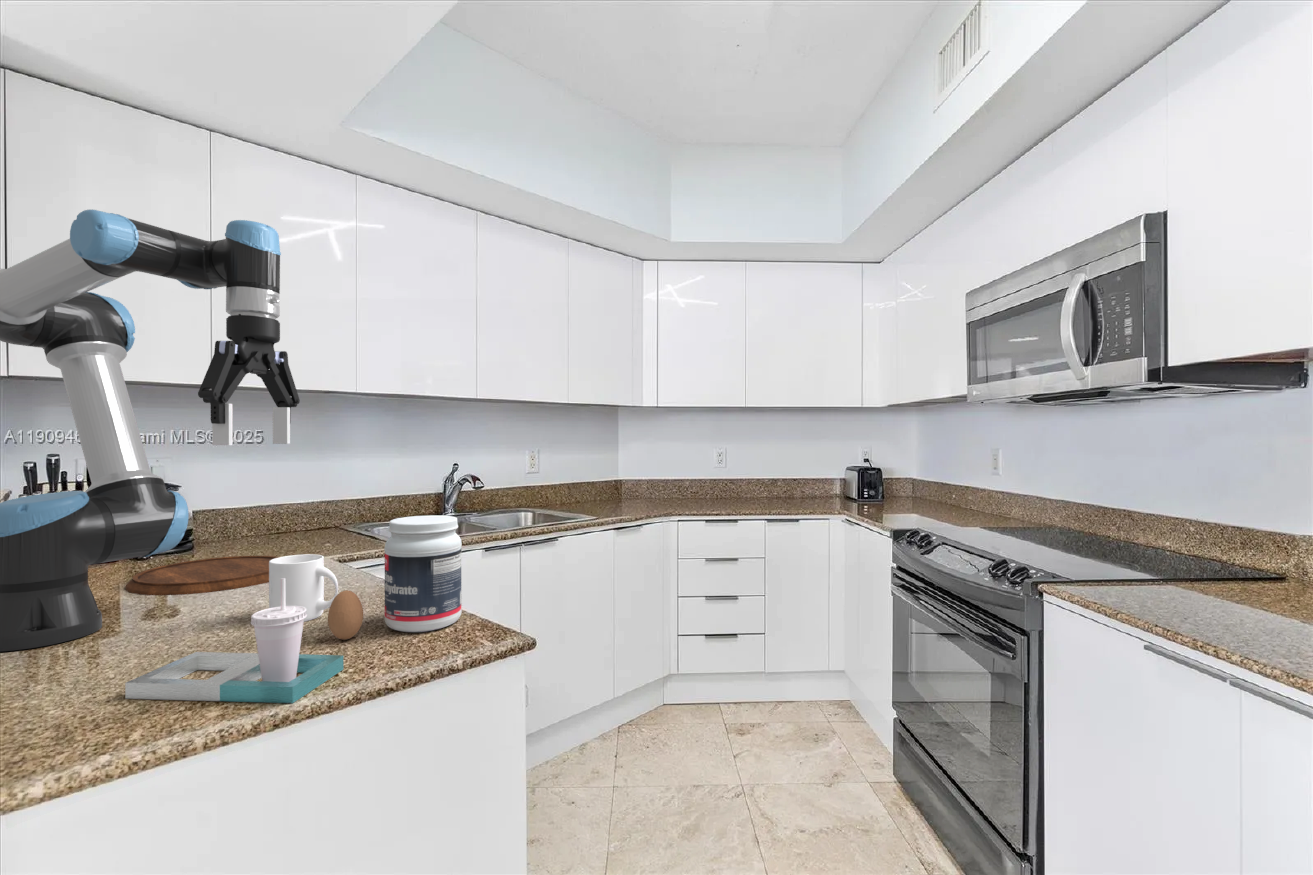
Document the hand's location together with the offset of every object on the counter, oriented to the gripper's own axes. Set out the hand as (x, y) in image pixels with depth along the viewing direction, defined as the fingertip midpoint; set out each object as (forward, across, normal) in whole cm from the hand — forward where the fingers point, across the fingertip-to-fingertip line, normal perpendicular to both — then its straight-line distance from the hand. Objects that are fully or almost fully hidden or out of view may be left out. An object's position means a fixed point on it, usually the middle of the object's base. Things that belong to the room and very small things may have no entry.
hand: (253, 444), depth 103 cm
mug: (+32, +9, -3) cm, 33 cm away
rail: (+32, -20, -13) cm, 40 cm away
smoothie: (+32, -20, -19) cm, 42 cm away
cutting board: (+32, +38, +38) cm, 63 cm away
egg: (+32, -2, -17) cm, 36 cm away
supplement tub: (+32, +7, -26) cm, 42 cm away
